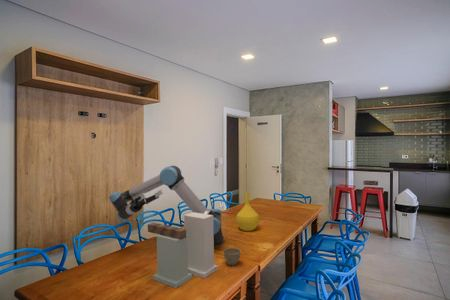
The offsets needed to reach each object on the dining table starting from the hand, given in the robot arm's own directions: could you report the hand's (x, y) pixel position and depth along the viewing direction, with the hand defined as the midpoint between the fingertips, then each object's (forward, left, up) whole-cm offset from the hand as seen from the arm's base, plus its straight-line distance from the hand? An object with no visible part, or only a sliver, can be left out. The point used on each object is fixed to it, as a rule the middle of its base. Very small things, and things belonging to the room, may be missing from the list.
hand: (153, 193), depth 162 cm
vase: (-82, +8, -40) cm, 91 cm away
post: (+8, +30, -40) cm, 50 cm away
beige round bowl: (-26, +41, -40) cm, 63 cm away
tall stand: (-8, +33, -40) cm, 52 cm away
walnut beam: (+9, +26, -18) cm, 33 cm away
